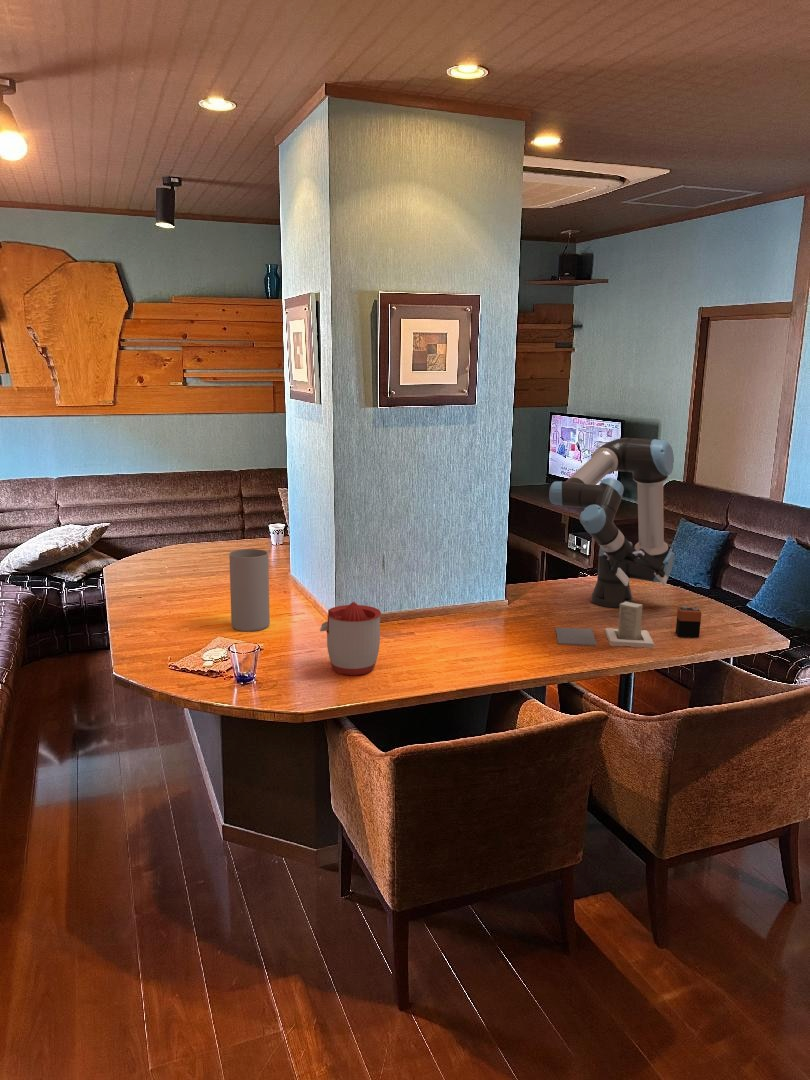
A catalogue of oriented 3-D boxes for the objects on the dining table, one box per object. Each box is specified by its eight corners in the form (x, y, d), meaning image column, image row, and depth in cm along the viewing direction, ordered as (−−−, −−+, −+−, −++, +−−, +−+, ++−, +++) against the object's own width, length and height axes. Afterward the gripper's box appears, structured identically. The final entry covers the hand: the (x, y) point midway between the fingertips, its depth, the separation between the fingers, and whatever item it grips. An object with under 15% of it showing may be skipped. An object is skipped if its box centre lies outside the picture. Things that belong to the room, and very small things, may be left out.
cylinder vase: (224, 629, 266) (221, 555, 261) (243, 618, 278) (241, 547, 273) (258, 634, 262) (256, 558, 257) (276, 623, 274) (275, 550, 269)
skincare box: (640, 640, 262) (643, 604, 260) (634, 644, 259) (637, 607, 256) (623, 636, 266) (625, 600, 264) (616, 639, 263) (619, 603, 260)
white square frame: (605, 632, 270) (605, 628, 269) (646, 634, 268) (646, 630, 268) (610, 645, 257) (610, 641, 256) (653, 648, 255) (654, 643, 255)
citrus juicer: (320, 659, 240) (320, 594, 236) (379, 659, 242) (380, 594, 237) (319, 679, 225) (318, 610, 221) (381, 678, 226) (382, 609, 222)
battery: (675, 633, 270) (677, 604, 268) (696, 634, 270) (698, 605, 268) (678, 637, 266) (680, 608, 264) (699, 638, 266) (702, 609, 263)
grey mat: (555, 628, 273) (555, 627, 273) (591, 630, 272) (591, 629, 271) (558, 644, 257) (558, 642, 257) (596, 646, 256) (596, 644, 256)
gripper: (576, 555, 255) (609, 592, 266) (647, 551, 237) (679, 591, 248) (583, 536, 258) (615, 573, 270) (654, 531, 240) (685, 571, 251)
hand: (646, 582), depth 259 cm, fingers open, 13 cm apart
